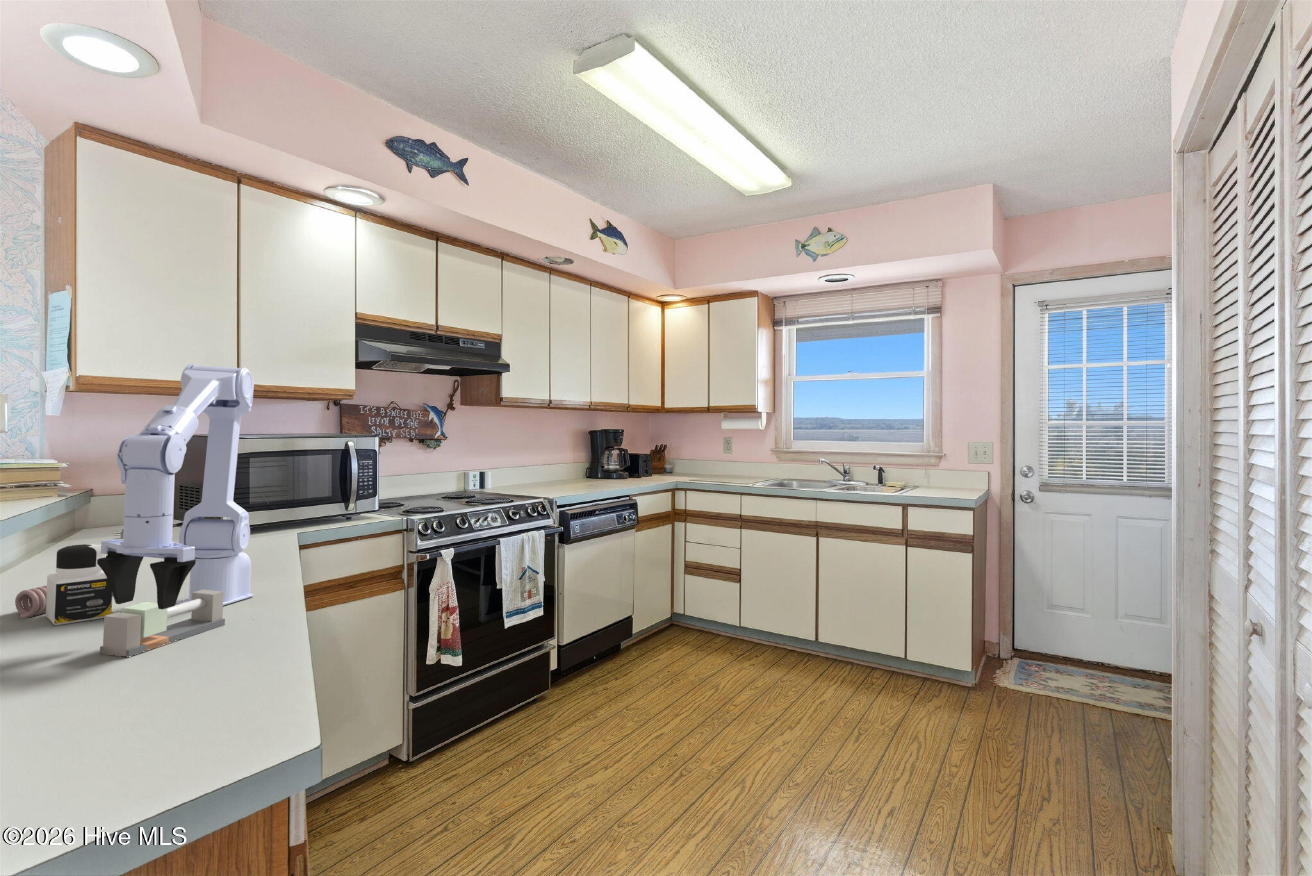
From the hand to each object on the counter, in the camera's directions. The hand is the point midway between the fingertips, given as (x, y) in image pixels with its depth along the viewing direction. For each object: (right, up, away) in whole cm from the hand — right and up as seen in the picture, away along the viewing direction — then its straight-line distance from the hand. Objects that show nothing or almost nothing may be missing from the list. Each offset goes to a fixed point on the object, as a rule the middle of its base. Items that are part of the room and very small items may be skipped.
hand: (145, 604), depth 94 cm
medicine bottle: (-21, -5, +11) cm, 24 cm away
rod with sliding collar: (0, -6, +4) cm, 7 cm away
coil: (-28, -5, +18) cm, 34 cm away
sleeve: (0, -4, 0) cm, 4 cm away
